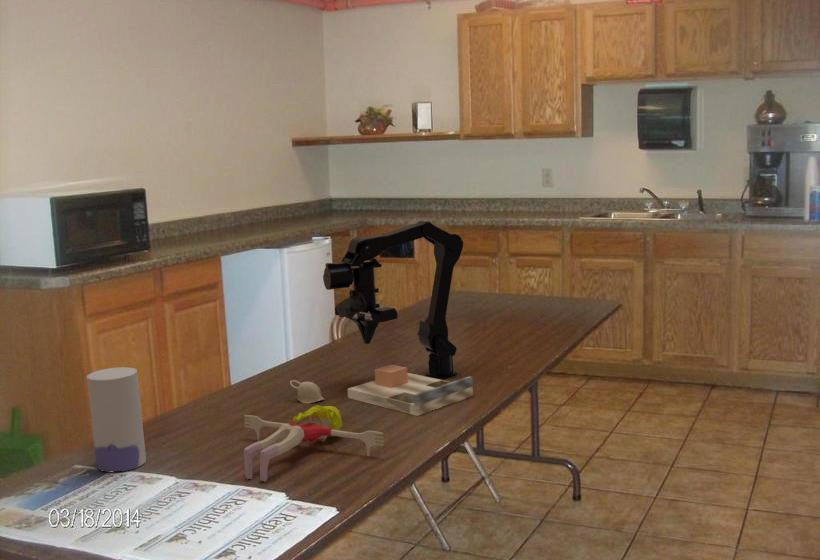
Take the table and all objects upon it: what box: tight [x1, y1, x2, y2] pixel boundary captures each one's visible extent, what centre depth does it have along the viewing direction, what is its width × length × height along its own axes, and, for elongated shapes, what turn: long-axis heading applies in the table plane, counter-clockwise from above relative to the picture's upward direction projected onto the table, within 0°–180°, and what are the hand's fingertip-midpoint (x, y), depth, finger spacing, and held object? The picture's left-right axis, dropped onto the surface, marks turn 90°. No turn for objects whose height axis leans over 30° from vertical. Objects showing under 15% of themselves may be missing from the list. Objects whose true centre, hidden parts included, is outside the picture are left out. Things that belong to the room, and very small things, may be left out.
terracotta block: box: [374, 364, 409, 388], centre depth 230 cm, size 6×6×4 cm
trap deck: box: [347, 372, 474, 417], centre depth 226 cm, size 20×25×5 cm
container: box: [86, 366, 147, 472], centre depth 186 cm, size 10×10×20 cm
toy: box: [243, 404, 384, 483], centre depth 191 cm, size 28×28×9 cm
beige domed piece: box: [289, 379, 325, 404], centre depth 227 cm, size 4×8×5 cm, turn 65°
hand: (367, 343), depth 235 cm, fingers closed
